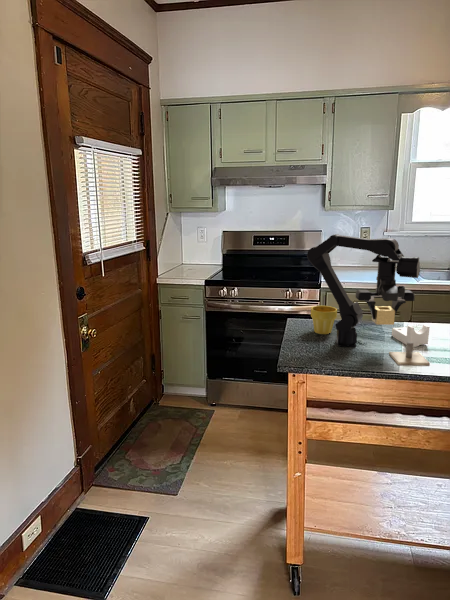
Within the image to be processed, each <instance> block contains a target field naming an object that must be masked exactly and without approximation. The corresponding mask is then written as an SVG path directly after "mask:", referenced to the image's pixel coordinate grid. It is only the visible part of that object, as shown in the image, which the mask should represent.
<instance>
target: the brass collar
mask: <svg viewBox="0 0 450 600" xmlns="http://www.w3.org/2000/svg"><path fill="white" fill-rule="evenodd" d="M395 317H396V315H395V310H394V309H393V308H392V306H390V305H388V306H386V305H381V306H380V305H379V306H378V305H375V319H373V318H372V317H371V321H372V322H373V323H374V324H375V325H385V326H386V325H391V326H393V325H395Z"/></svg>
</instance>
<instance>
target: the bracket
mask: <svg viewBox="0 0 450 600" xmlns="http://www.w3.org/2000/svg"><path fill="white" fill-rule="evenodd" d="M429 335H430V326H429V325H427V324H423V325H422V327H421V329H420V330H419V331H418V330H415V327H414V326H412V325H407V327H406V326H405V327H404V326H403V327H393V328H392V329H391V337H392V336H393V338H394V339H396V340H397V341H400V342H401V343H402V344H404V345H406V346H407V342H412V343H413V348H414V347H419V346H420V345H429Z"/></svg>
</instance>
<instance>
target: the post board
mask: <svg viewBox="0 0 450 600" xmlns="http://www.w3.org/2000/svg"><path fill="white" fill-rule="evenodd" d="M405 349H406V350H405V351H389V353H388V354H389V356H390V357H391V359H393V360H394V361H395V363H396V364H397V365H398V366H399V365H403V366H405V365H407V366H430V365H431V364H430V361H428V360H427V358H426V357H425V356H423V355H422V354H421V352H419V351H417V352H416V351H415V352H414V351H413V350H414V347H413V343H412V342H407V345H406V348H405Z"/></svg>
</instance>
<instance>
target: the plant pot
mask: <svg viewBox="0 0 450 600" xmlns="http://www.w3.org/2000/svg"><path fill="white" fill-rule="evenodd" d="M310 317H311V318H312V324H313V330H314V331H313V332H314V333H316V334H319V335H329V333H330V334H331V333H332V331H333V327H334V323H335V320H336V319H337V318H338V309H337V308H336V307H333V306H330V305H315V306H312V307H311V309H310Z"/></svg>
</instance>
